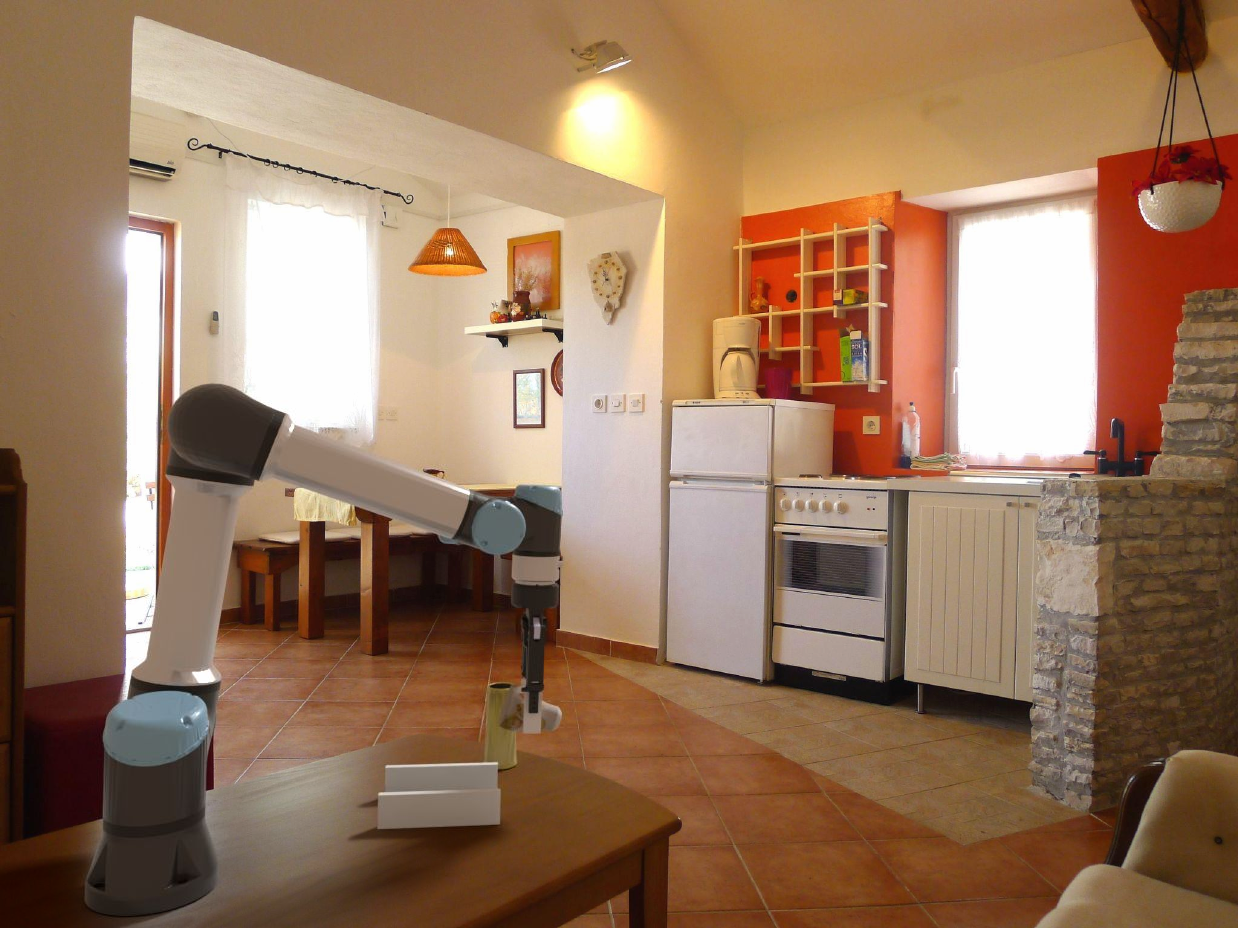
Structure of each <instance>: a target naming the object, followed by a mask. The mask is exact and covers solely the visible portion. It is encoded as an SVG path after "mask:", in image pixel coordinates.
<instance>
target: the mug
mask: <svg viewBox="0 0 1238 928" xmlns="http://www.w3.org/2000/svg"><path fill="white" fill-rule="evenodd" d="M522 687H523V686H521V685H519V684H515V685H511V686H510V688H509V691H508V693H507V696H506V698H505V701H504V704H503V708H502V711H501V715H500V719H499V727H501V728H503V729H506V730H509V731H516V732H520V731H522V732H523V717H524V692H521V688H522ZM562 715H563V714H562V709H560V707H559V706H558V705H554V704H551V703H547V701H546V702H545V701H544V700H542V713H541V730H546V731H550V732H552V731H553V732H554V731H555V730H556V729H558V727H559V726H560V724H561V721H562V717H563V716H562Z"/></svg>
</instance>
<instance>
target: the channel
mask: <svg viewBox="0 0 1238 928" xmlns="http://www.w3.org/2000/svg"><path fill="white" fill-rule="evenodd" d="M498 770H499V769H498V762H489V763H483V762H462V763H460V762H458V763H429V764H428V763H425V764H423V763H422V764H419V763H418V764H388V765H387V764H386V765H385V770H384V772H385V773H384V775H385V776H384V778H385V779H384V791H383V792H378V795H377V827H376V828H377V830H389V829H390V830H391V829H393V830H394V829H417V828H419V829H420V828H438V827H439V828H442V827H445V828H447V827H467V826H491V825H493V826H494V825H501V788H498V782H499V781H498V776H499V774H498V773H499V772H498Z"/></svg>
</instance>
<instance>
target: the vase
mask: <svg viewBox="0 0 1238 928" xmlns="http://www.w3.org/2000/svg"><path fill="white" fill-rule="evenodd" d="M511 685H516V684H515V683H512V682H505V681H502V682H501V681H500V682H499V681H498V682H491V683H489V684H488V685H487V687H486V708H485V709H486V714H485V715H486V717H485V718H486V720H485V721H486V722H485V739H484V749H483V750H484V753H483V761H482V763H489V762H498V770H508V769H512V768H514V767H515V766H516V765H517V764H518V759H517V731H509V730H506V729H503V728H501V727H499V719H500V715H501V711H502V708H503V704H504V701H505V698H506V696H507V693H508V691H509V688H510V686H511Z"/></svg>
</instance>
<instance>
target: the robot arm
mask: <svg viewBox="0 0 1238 928" xmlns="http://www.w3.org/2000/svg"><path fill="white" fill-rule="evenodd" d="M167 415H168V416H167V420H166V431H167V437H168V440H169V442H170V445H169V452H168V457H167V464H166V469H165V478H166V480H168V482H169V483H170V485H172V487H173V490H174V494H173V499H172V500H173V501H172V504H171V505H172V506H171V510H170V511H171V512H170V518H169V522H168V524H169V525H168V529H167V535H166V540H165V546H164V547H165V548H164V552H163V559H162V565H161V571H160V576H159V582H158V588H157V592H156V593H157V594H156V599H155V600H156V601H155V606H154V611H153V616H152V623H151V628H150V629H151V630H150V635H149V641H148V647H147V653H146V658H145V659H144V660H143V661H142V662H141V663H140V664H139V665H137V666H135V667H134V668H133V669H132V670H131V674H130V680H129V685H128V692H127V697H126V699H124V700H121V701H120V702H118V703H117V704H116V705H114V706H113V708H112V709H110V711H109V712H108V714H107V716H106V720H105V727H104V730H103V733H102V742H103V749H104V752H103V753H104V755H103V760H104V761H103V793H102V796H103V798H102V801H103V802H102V833H101V837H100V840H99V842H98V845H97V847H96V850H95V854H94V856H93V859H92V861H91V865H90V867H89V869H88V873H87V875H86V877H85V881H84V904H86V906H87V907H88V908H89V909H91V911H94V912H96V913H99V914H104V915H110V916H117V917H118V916H120V917H125V916H126V917H129V916H130V917H131V916H143V915H150V914H157V913H160V912H161V913H162V912H166V911H170V910H173V909H177V908H179V907H182V906H186V905H188V904H190V903H192V902H195V901H197V900H199V899H201V898H202V897H204V896H205V895H208V893H209V892H211V891H212V890H213V889H214V888H215V887H216V885H217V884H218V882H219V877H220V875H219V874H220V873H219V872H220V860H219V857H218V854H217V851H216V848H215V845H214V841H213V839H212V836H211V833H210V831H209V827H208V824H207V821H206V820H207V819H206V807H207V806H206V803H207V802H206V801H207V797H206V795H207V766H208V764H207V762H208V755H209V749H210V745H211V740H212V737H213V735H214V732H215V730H216V726H217V722H218V721H217V719H218V713H217V708H218V705H219V704H218V702H219V696H220V690H221V684H222V678H223V677H222V674H221V672H220V670H218V669H217V668H216V666H215V665H214V658H215V657H214V656H215V650H216V646H217V639H218V633H219V627H220V620H221V617H222V616H221V614H222V609H223V604H224V597H225V591H226V585H227V579H228V574H229V567H230V562H231V555H232V550H233V543H234V537H235V532H236V525H237V521H238V515H239V507H240V502H241V499H242V497H243V496H244V495H246V494H247V493H249V492H251V490H253V489H254V487H255V486H254V485H255V482H260V483H262V482H265V481H267V480H270V479H276V480H278V481H281V482H284V483H287V484H290V485H292V486H296V487H299V488H302V489H304V490H308V491H310V492H313V493H315V494H316V493H317V494H319V495H322V496H325V497H328V498H329V499H333V500H336V501H340V502H342V503H345V504H348V505H351V506H354V507H357V508H359V509H362V510H365V511H368V512H371V513H375V514H376V515H381V516H384V517H386V518H389V519H392V520H394V521H397V522H401V523H403V524H406V525H409V526H413V527H415V528H418V529H422V530H423V531H427V532H430V533H433V534H436V535H437V537H438V539H439V541H440V542H441V543H443V544H448V545H449V544H450V545H451V544H453V545H457V546H460V545H467V546H470V547H473V548H475V549H479V550H480V551H482V552H484V553H486V554H489V555H493V556H496V555H497V556H499V555H501V556H502V555H506V554H509V553H511V552H512V558H511V559H512V561H511V562H512V563H511V578H512V579H513V580H514V581H513V583H512V584H511V591H510V592H511V593H510V594H511V595H510V597H511V598H510V604H511V606H513V607H515V608H518V609H525V611H524V612H523V614H522V616H520V626H521V627H520V628H521V642H522V648H521V665H520V669H521V673H520V674H521V677H522V678H521V681H520V684H521V685H520V686H523V687H522V688H521V692H524V717H523V730H522V734H526V735H527V734H541V733H542V732H541V731H542V729H541V713H542V701H543V691H544V689H545V685H544V680H545V679H544V675H545V646H546V645H547V641H546V639H547V635H546V633H547V630H548V620H547V618H546V617H547V616H544V610H546V609H548V610H549V609H550V610H551V609H554V608H556V607H558V605H559V601H560V600H559V599H560V598H559V595H560V585H559V584H558V583H557V581H558V580H559V579H560V569H559V568H562V567H564V561H563V560H560V559H561V557H560V556H561V536H562V520H563V498H562V497H563V495H562V491H561V489H560V488H559V487H558V486H556V485H547V484H518V485H517V486H515V488H514V489H515V490H514V491H515V492H514V494H513V495H512V496H490V495H488V494H485V493H481V492H478V491H476V490H473V489H469V488H468V487H465V486H463V485H460V484H457V483H455V482H452V481H449V480H447V479H443V478H440V477H438V476H435V475H433V474H430V473H427V472H424V471H421V470H419V469H417V468H413V467H411V466H408V465H406V464H403V463H400V462H397V461H394V460H392V459H388V458H386V457H384V456H381V455H379V454H376V453H373V452H370V451H367V450H365V449H363V448H362V449H361V448H359V447H358V446H357V447H356V446H355V445H351V444H348V443H346V442H343V441H340V440H337V439H335V438H332V437H329V436H327V435H324V434H321V433H318V432H316V431H313V430H310V429H308V428H304V427H302V426H300V425H296V424H295V423H293V420H292V419H291V417H290V415H289V414H288V413H285V412H283V411H280V410H278V409H275V408H273V407H271V406H268V405H266V404H264V403H263V402H260V401H259V400H256V399H254V398H252V397H251V396H249V395H247V394H245V392H243V391H241V390H239V389H238V388H236V387H233V386H230V385H227V384H223V383H212V382H211V383H204V384H200V385H196V386H194V387H192V388H190V389H188V390H187V391H185V392H183V393H182V394H180V395H179V396H178V398H177V399H176V400H175V401H174V402H173V405H172V406H171V408H170V410H169V412H168V414H167Z"/></svg>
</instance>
